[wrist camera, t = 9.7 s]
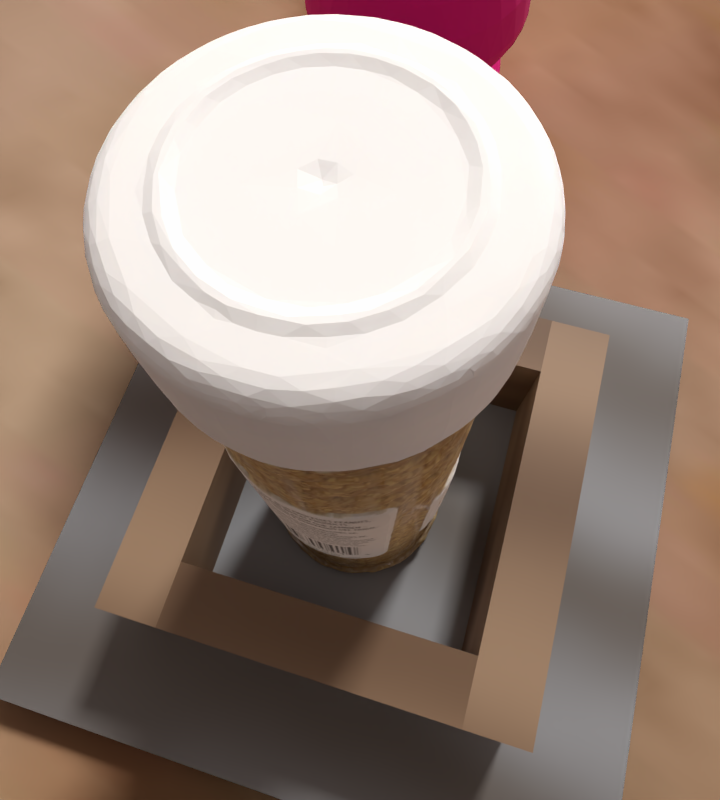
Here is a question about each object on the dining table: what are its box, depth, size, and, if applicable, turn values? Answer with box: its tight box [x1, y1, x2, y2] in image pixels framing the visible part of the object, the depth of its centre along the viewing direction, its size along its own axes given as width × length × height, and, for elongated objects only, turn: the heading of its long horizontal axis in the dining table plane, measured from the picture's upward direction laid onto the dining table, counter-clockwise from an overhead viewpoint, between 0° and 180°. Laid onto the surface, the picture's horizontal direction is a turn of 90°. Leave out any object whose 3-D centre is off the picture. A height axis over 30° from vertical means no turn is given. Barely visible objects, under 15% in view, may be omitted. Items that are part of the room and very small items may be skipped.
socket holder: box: [0, 286, 688, 800], centre depth 17 cm, size 16×16×4 cm
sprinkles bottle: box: [83, 14, 565, 573], centre depth 12 cm, size 5×5×13 cm
